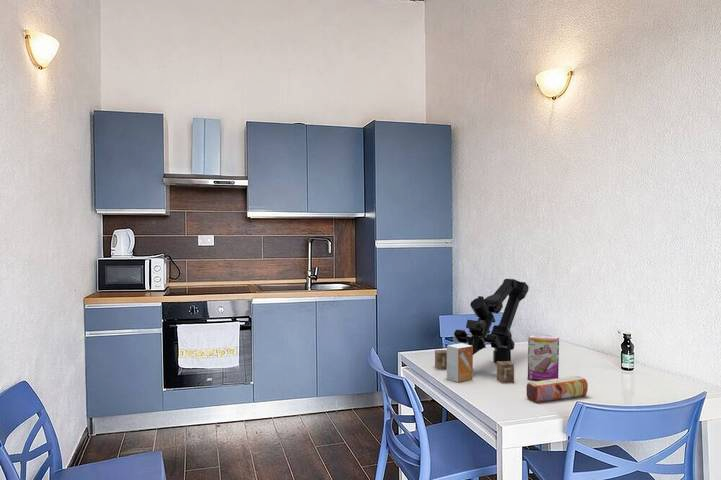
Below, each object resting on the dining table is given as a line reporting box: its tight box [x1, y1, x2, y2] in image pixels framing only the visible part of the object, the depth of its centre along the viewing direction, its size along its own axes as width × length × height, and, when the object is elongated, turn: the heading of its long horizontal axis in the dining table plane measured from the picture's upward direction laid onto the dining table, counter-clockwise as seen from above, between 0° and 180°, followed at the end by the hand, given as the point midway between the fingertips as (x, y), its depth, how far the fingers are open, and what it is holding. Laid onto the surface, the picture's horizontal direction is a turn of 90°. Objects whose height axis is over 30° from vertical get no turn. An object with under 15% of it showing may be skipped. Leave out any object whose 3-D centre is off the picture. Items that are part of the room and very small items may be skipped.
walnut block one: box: [434, 349, 447, 371], centre depth 220 cm, size 5×5×7 cm
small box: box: [446, 342, 474, 383], centre depth 203 cm, size 8×6×13 cm
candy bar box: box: [527, 334, 560, 382], centre depth 203 cm, size 11×5×16 cm, turn 71°
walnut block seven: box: [496, 361, 515, 384], centre depth 201 cm, size 5×5×7 cm
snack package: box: [526, 374, 589, 403], centre depth 181 cm, size 21×7×7 cm, turn 109°
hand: (469, 356), depth 209 cm, fingers closed
